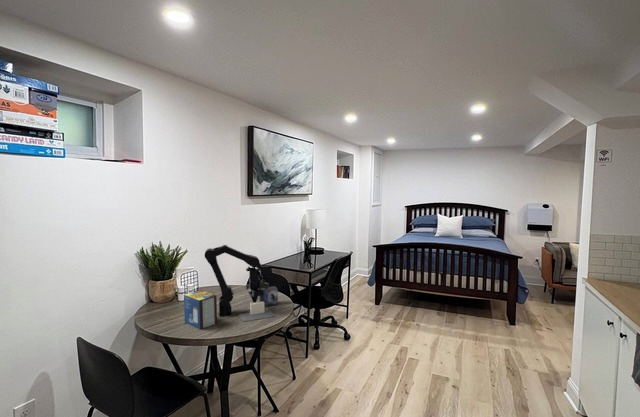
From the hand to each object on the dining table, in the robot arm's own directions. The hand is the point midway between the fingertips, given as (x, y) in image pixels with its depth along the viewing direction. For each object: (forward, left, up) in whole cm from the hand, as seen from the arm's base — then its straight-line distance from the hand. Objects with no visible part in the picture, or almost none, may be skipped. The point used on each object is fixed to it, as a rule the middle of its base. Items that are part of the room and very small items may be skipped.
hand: (254, 304), depth 199 cm
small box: (+11, +8, -4) cm, 14 cm away
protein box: (-31, -5, -4) cm, 32 cm away
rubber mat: (-1, -8, -4) cm, 9 cm away
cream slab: (0, -5, -4) cm, 6 cm away
